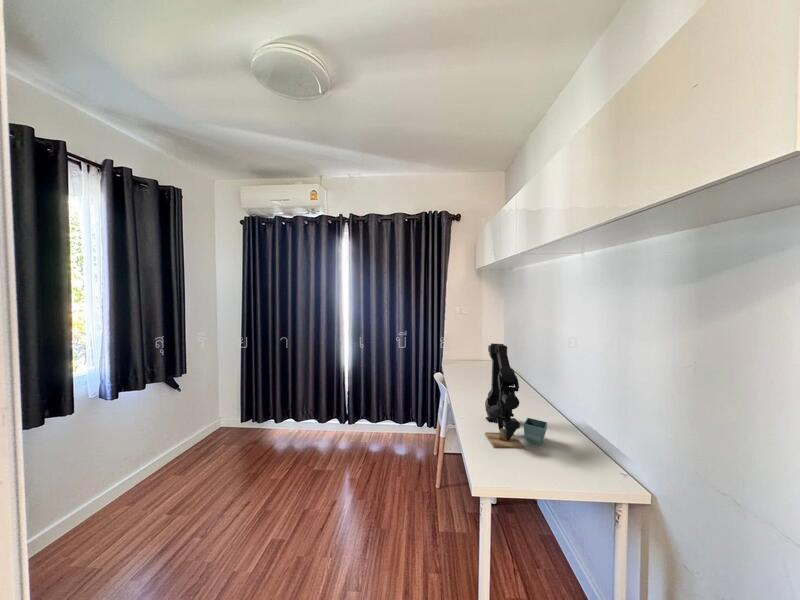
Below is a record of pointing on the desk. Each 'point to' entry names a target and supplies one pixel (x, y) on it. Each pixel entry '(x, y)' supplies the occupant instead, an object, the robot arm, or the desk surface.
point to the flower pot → (534, 430)
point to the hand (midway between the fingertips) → (504, 435)
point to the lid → (503, 440)
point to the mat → (502, 448)
